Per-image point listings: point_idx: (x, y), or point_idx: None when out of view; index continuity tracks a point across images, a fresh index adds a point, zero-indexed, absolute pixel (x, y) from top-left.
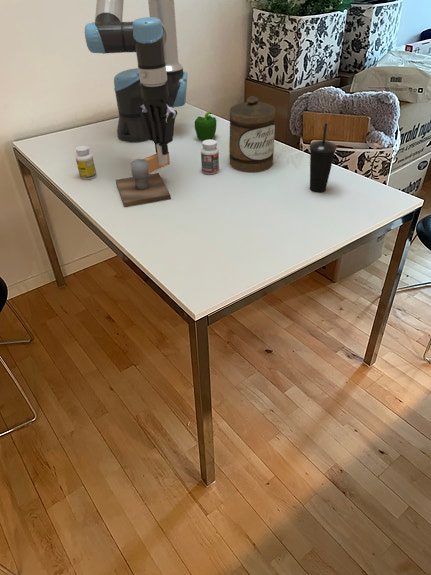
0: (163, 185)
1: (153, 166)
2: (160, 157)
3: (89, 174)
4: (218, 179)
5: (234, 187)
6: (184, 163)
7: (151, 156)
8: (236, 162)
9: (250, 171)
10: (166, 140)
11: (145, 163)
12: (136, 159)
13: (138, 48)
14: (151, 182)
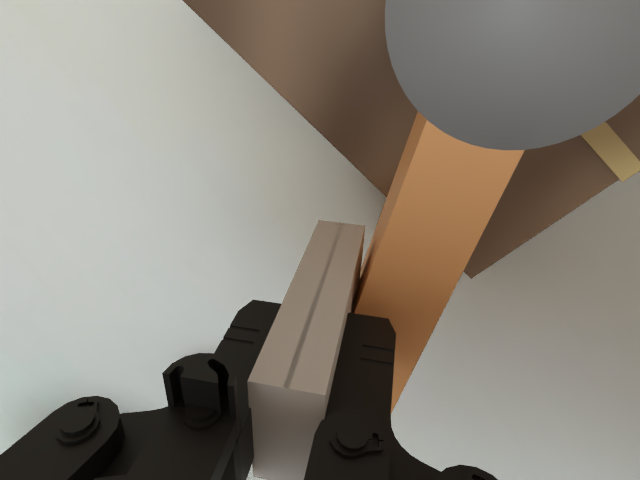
0: (320, 112)
1: (398, 175)
2: (314, 268)
3: None
4: (141, 330)
5: (27, 282)
6: (405, 435)
7: (441, 262)
8: None
9: None
10: (48, 452)
11: (397, 26)
12: (629, 96)
13: None
14: None
